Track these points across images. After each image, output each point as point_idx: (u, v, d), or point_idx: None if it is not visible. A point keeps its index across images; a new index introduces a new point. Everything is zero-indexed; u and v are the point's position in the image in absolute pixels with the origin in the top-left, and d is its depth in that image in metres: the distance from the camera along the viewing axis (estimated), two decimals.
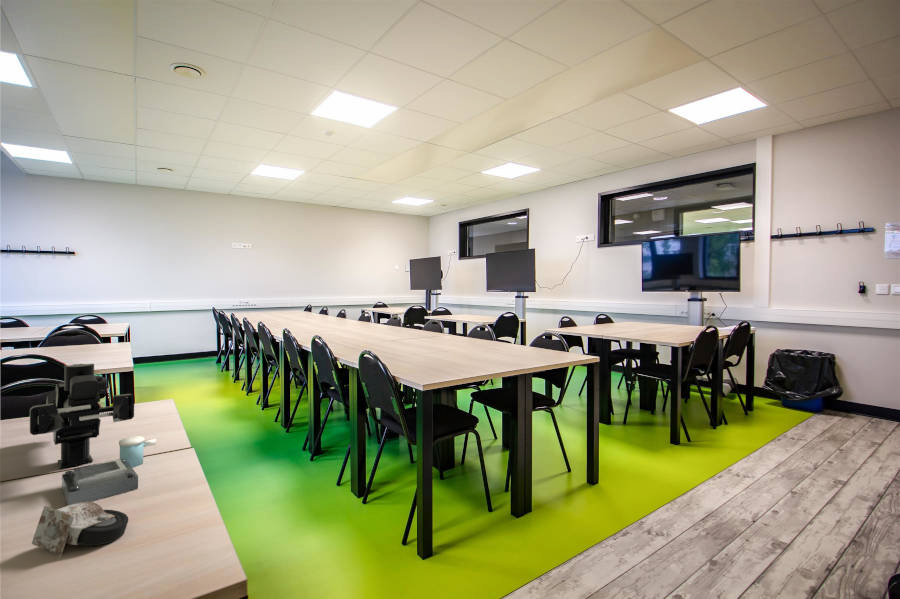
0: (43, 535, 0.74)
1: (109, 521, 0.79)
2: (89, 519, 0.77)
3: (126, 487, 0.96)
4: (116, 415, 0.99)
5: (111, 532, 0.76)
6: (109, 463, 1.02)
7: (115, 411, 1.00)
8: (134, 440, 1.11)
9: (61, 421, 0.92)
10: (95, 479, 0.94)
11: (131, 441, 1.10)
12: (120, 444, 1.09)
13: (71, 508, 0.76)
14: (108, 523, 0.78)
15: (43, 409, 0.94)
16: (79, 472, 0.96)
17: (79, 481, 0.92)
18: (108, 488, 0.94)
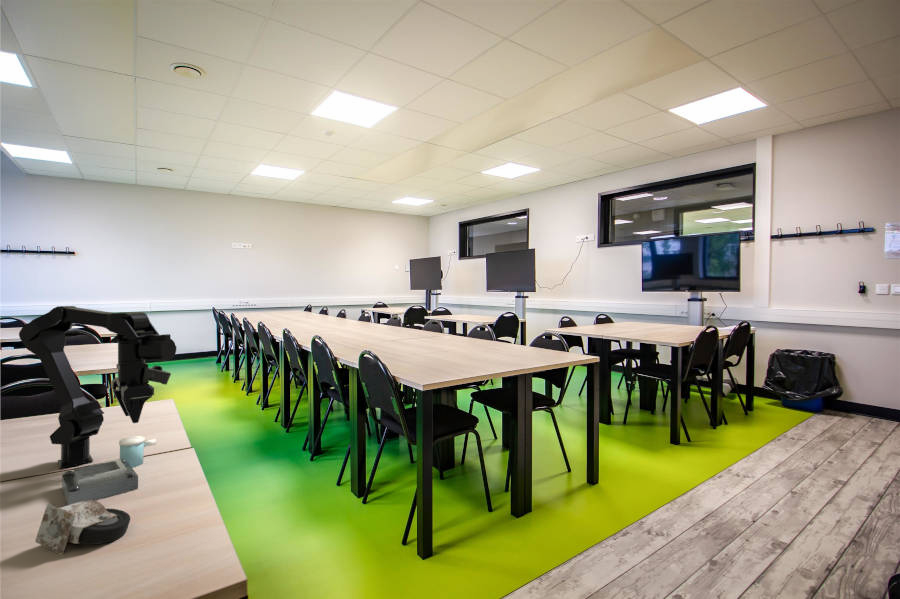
0: (46, 533, 0.75)
1: (111, 520, 0.79)
2: (91, 518, 0.78)
3: (126, 487, 0.96)
4: None
5: (112, 531, 0.77)
6: (109, 463, 1.02)
7: None
8: (134, 440, 1.11)
9: (138, 420, 1.09)
10: (95, 479, 0.94)
11: (131, 441, 1.10)
12: (120, 444, 1.09)
13: (73, 507, 0.77)
14: (110, 522, 0.78)
15: (150, 397, 1.08)
16: (79, 472, 0.96)
17: (79, 481, 0.92)
18: (108, 488, 0.94)
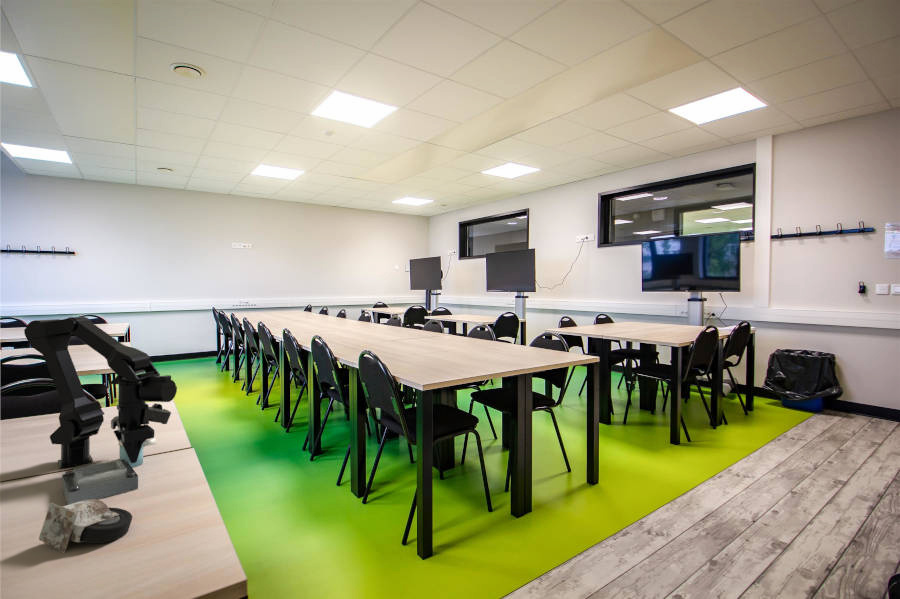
0: (49, 531, 0.75)
1: (113, 519, 0.79)
2: (93, 517, 0.78)
3: (126, 487, 0.96)
4: None
5: (114, 530, 0.77)
6: (109, 463, 1.02)
7: None
8: None
9: (136, 460, 1.10)
10: (95, 479, 0.94)
11: None
12: (120, 444, 1.09)
13: (76, 505, 0.77)
14: (111, 521, 0.79)
15: None
16: (79, 472, 0.96)
17: (79, 481, 0.92)
18: (108, 488, 0.94)
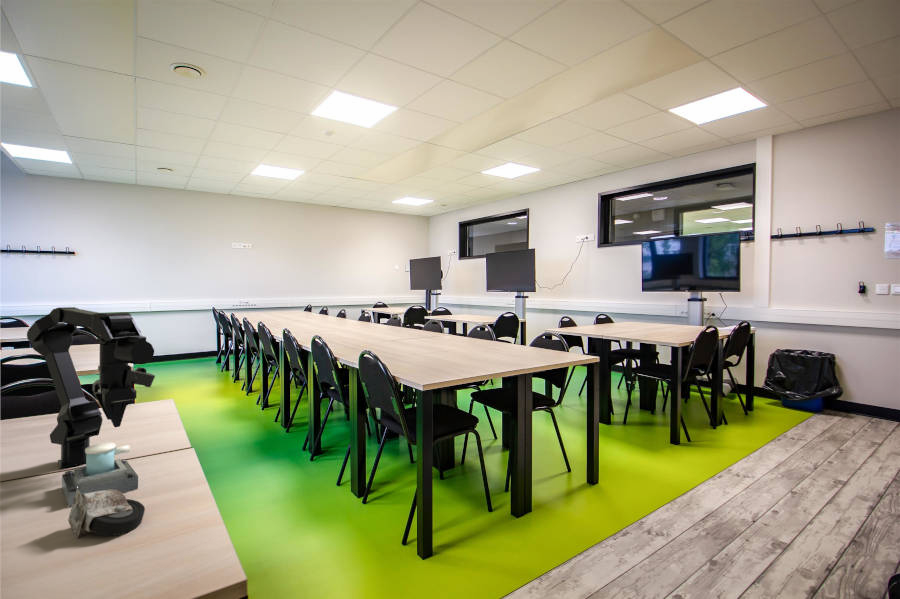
0: None
1: (124, 513, 0.82)
2: (108, 508, 0.81)
3: (126, 487, 0.96)
4: None
5: (118, 525, 0.79)
6: None
7: None
8: (103, 447, 0.98)
9: (120, 424, 1.05)
10: (95, 479, 0.94)
11: (99, 448, 0.97)
12: (86, 452, 0.96)
13: (95, 494, 0.82)
14: (121, 515, 0.81)
15: (132, 401, 1.05)
16: (79, 472, 0.96)
17: (79, 481, 0.92)
18: (108, 488, 0.94)
